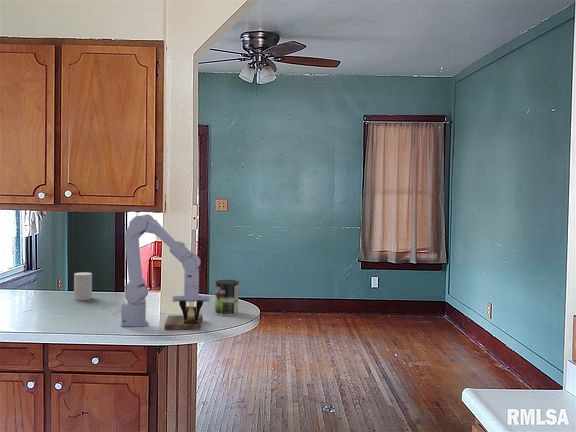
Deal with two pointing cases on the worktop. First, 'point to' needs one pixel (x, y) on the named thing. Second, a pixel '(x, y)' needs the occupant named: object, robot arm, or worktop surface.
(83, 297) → the cup
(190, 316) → the brass pin
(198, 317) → the cover
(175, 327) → the walnut board
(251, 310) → the worktop surface
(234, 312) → the coffee can
